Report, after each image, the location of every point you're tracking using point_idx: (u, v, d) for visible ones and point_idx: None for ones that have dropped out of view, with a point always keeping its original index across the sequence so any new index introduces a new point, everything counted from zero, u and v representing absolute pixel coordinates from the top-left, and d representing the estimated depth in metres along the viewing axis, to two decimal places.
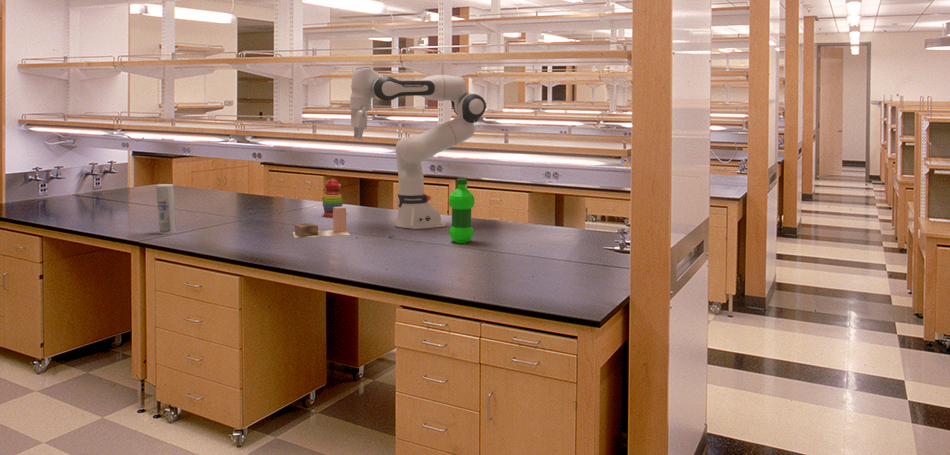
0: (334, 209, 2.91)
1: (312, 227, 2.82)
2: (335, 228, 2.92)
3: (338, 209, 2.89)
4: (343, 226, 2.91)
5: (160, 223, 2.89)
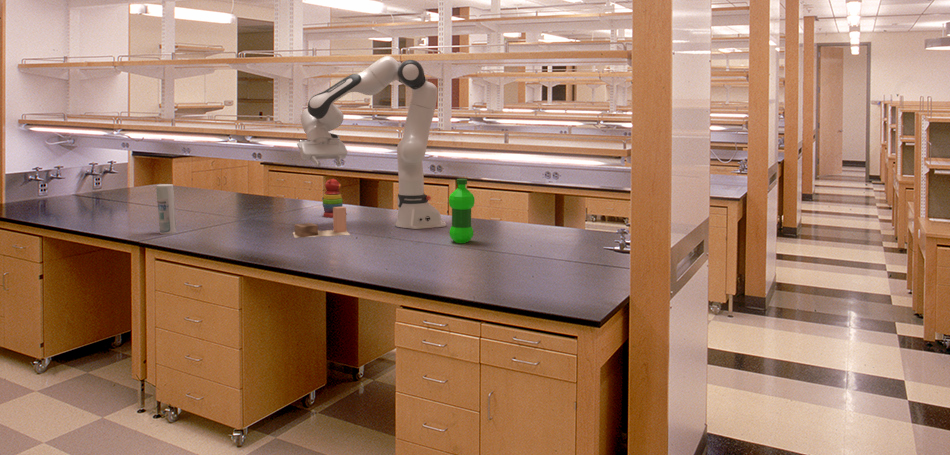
0: (334, 209, 2.91)
1: (312, 227, 2.82)
2: (335, 228, 2.92)
3: (338, 209, 2.89)
4: (343, 226, 2.91)
5: (160, 223, 2.89)
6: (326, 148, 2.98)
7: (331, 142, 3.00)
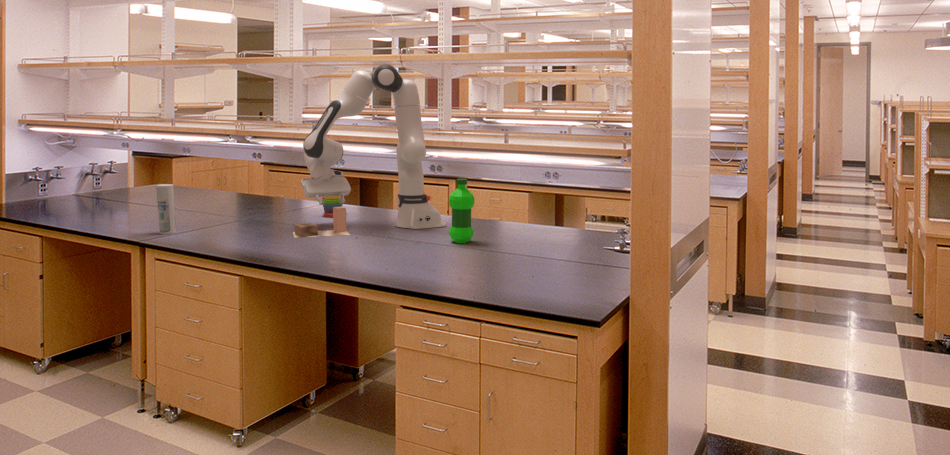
0: (334, 209, 2.91)
1: (312, 227, 2.82)
2: (335, 228, 2.92)
3: (338, 209, 2.89)
4: (343, 226, 2.91)
5: (160, 223, 2.89)
6: (329, 185, 2.99)
7: (334, 179, 3.01)
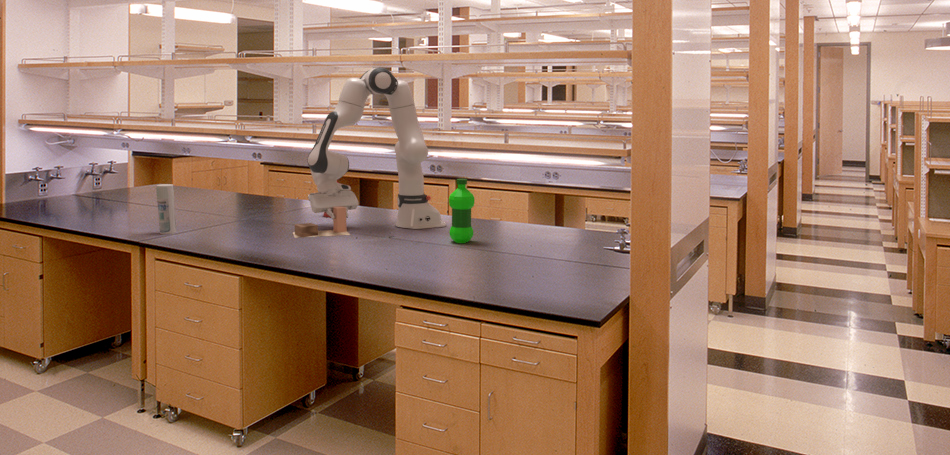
0: (334, 209, 2.91)
1: (312, 227, 2.82)
2: (335, 228, 2.92)
3: (338, 209, 2.89)
4: (343, 226, 2.91)
5: (160, 223, 2.89)
6: (337, 200, 2.94)
7: (341, 194, 2.97)
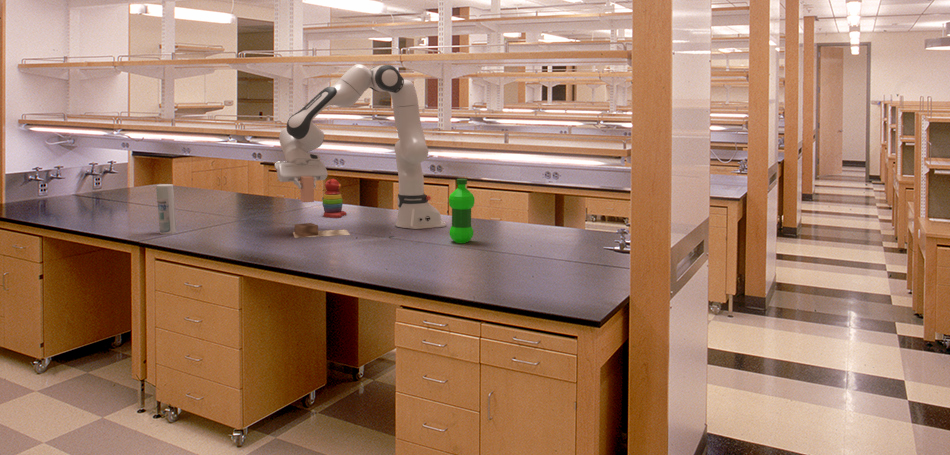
0: (301, 178, 2.81)
1: (312, 227, 2.82)
2: (302, 198, 2.82)
3: (305, 178, 2.79)
4: (310, 196, 2.82)
5: (160, 223, 2.89)
6: (305, 169, 2.84)
7: (310, 163, 2.87)
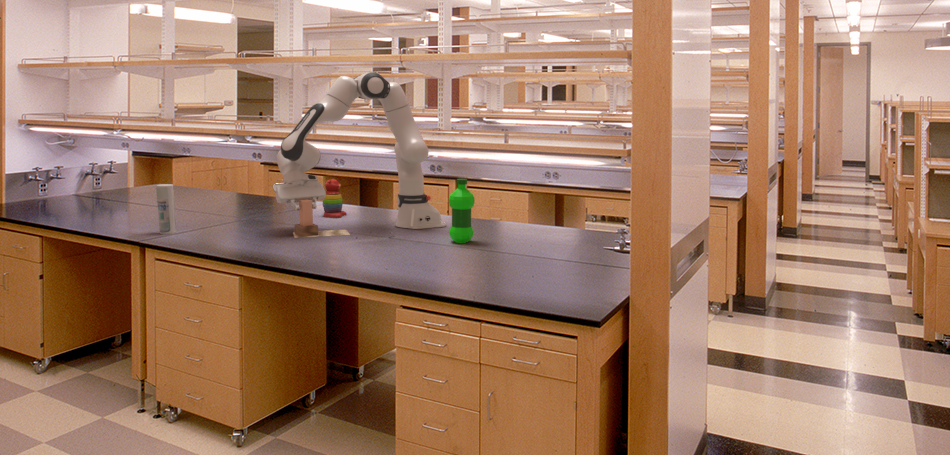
0: (300, 202, 2.82)
1: (312, 227, 2.82)
2: (301, 222, 2.83)
3: (304, 202, 2.80)
4: (309, 220, 2.83)
5: (160, 223, 2.89)
6: (303, 190, 2.85)
7: (308, 184, 2.88)
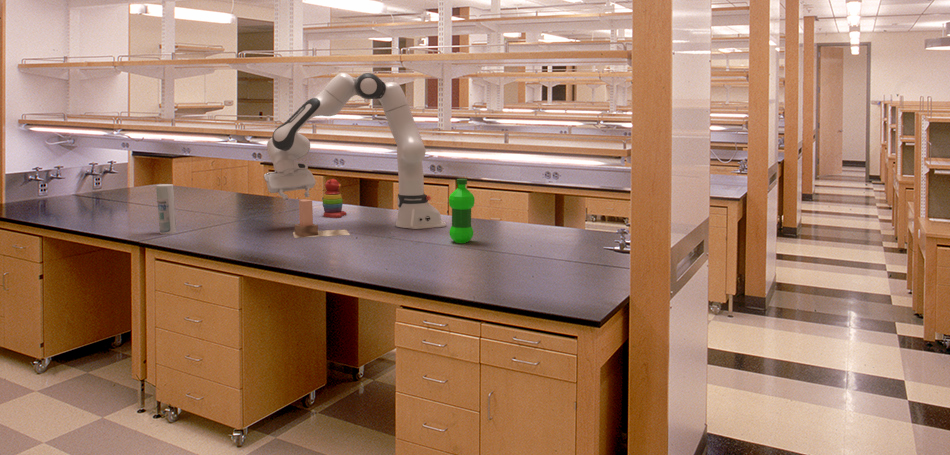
0: (300, 202, 2.82)
1: (312, 227, 2.82)
2: (301, 222, 2.83)
3: (304, 202, 2.80)
4: (309, 220, 2.83)
5: (160, 223, 2.89)
6: (294, 179, 2.95)
7: (298, 173, 2.98)
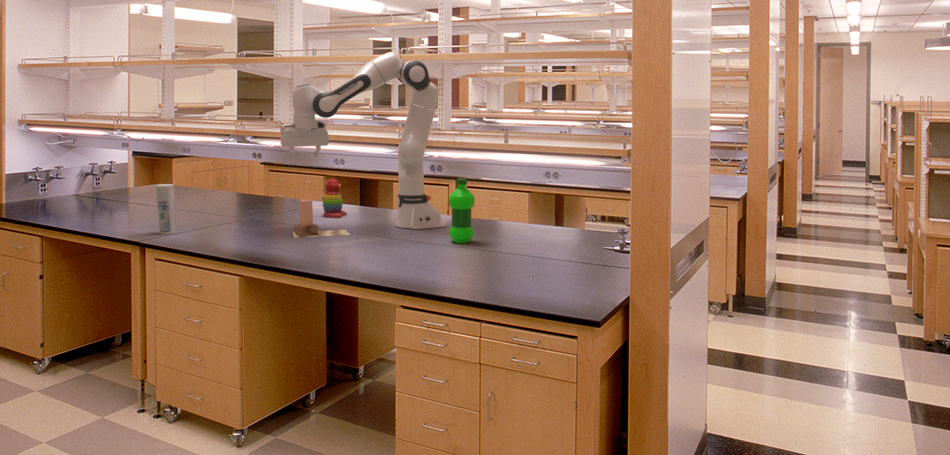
0: (300, 202, 2.82)
1: (312, 227, 2.82)
2: (301, 222, 2.83)
3: (304, 202, 2.80)
4: (309, 220, 2.83)
5: (160, 223, 2.89)
6: (308, 138, 2.94)
7: (315, 131, 2.95)
